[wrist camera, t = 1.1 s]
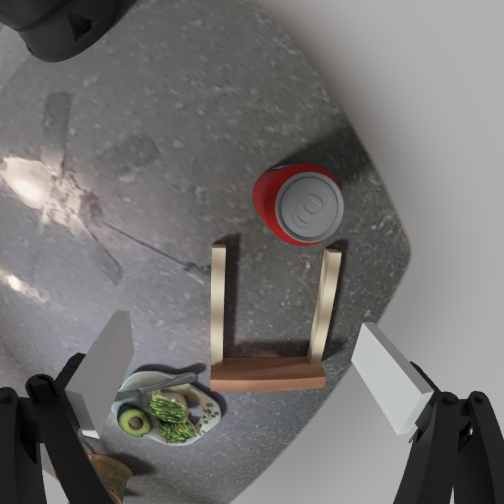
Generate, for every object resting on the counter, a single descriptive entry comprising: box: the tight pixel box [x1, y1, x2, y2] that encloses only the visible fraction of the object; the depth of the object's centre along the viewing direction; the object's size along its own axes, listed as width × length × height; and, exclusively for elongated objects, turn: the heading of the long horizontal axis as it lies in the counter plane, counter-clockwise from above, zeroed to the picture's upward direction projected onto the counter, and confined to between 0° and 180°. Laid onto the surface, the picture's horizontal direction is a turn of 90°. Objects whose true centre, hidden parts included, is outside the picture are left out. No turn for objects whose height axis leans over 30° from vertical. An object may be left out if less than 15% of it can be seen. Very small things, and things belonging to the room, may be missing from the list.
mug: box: [53, 454, 132, 504], centre depth 38 cm, size 12×18×12 cm, turn 41°
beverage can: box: [253, 163, 344, 246], centre depth 26 cm, size 7×7×12 cm
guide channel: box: [210, 244, 342, 392], centre depth 34 cm, size 18×15×5 cm
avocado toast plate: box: [111, 371, 222, 446], centre depth 37 cm, size 19×18×5 cm
